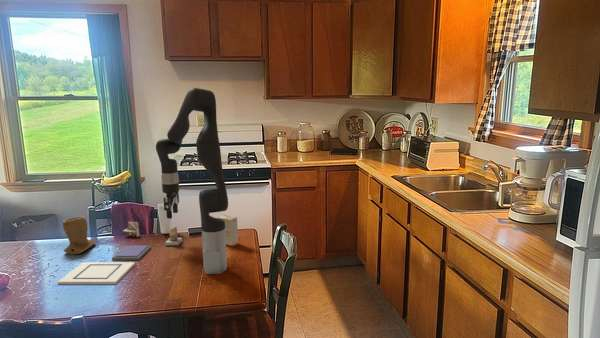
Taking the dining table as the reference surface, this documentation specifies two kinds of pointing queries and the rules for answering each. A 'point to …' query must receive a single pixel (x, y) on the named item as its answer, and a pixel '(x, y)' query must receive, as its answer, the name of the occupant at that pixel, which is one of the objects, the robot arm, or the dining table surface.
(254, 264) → the dining table surface
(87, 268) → the marking board
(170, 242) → the stamp
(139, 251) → the pad
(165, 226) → the tall white block
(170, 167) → the robot arm
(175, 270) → the dining table surface
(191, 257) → the dining table surface
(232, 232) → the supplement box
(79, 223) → the brown bookend
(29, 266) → the dining table surface
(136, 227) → the architectural model
